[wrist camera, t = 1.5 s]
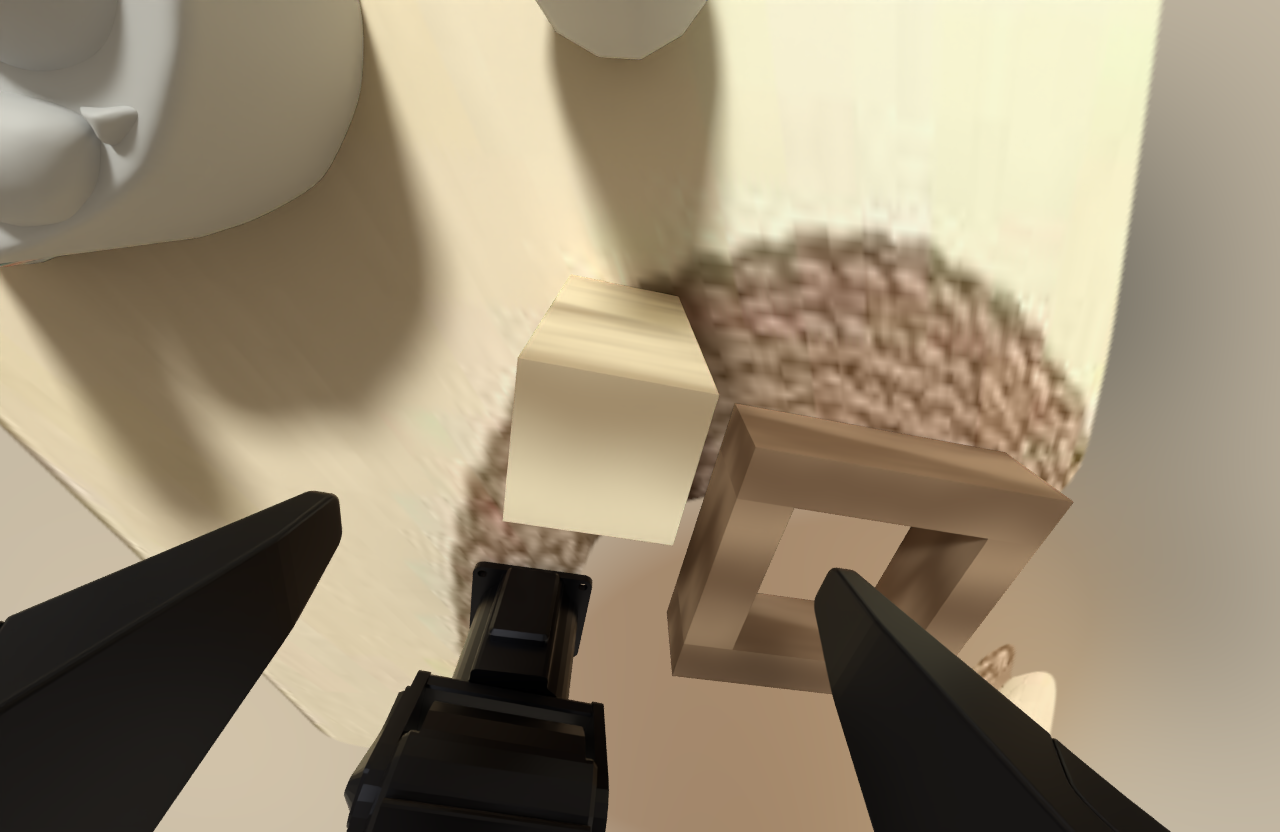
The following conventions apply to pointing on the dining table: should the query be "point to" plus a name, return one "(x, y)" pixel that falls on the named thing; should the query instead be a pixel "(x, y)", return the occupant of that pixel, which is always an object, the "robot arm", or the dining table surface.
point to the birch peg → (608, 414)
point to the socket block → (856, 487)
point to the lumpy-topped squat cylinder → (165, 116)
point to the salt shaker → (621, 24)
